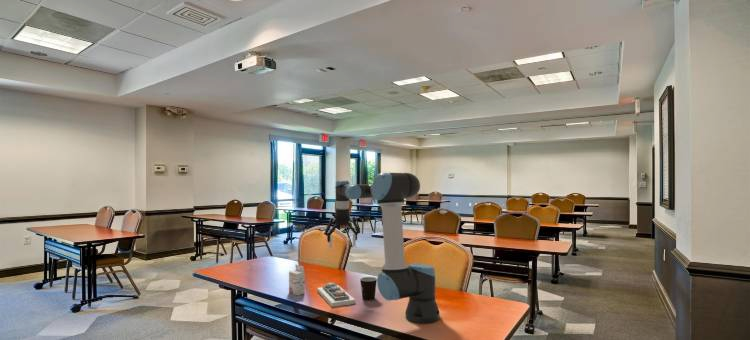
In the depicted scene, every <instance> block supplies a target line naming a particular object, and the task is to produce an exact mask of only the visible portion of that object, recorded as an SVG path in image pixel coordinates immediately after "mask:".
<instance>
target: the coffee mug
mask: <svg viewBox="0 0 750 340" xmlns="http://www.w3.org/2000/svg"><path fill="white" fill-rule="evenodd" d="M377 278H378V277H375V276H373V277H372V276H364V277H361V278H360V279H359V280H360V290H361V297H362V300H363V301H374V300H375V298H376V290H377Z"/></svg>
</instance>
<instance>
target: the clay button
mask: <svg viewBox="0 0 750 340" xmlns="http://www.w3.org/2000/svg"><path fill="white" fill-rule="evenodd" d="M343 290H344V289H343ZM343 290H338V291H335V296H344V295H345V291H346V290H344V291H343Z"/></svg>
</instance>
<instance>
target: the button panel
mask: <svg viewBox="0 0 750 340" xmlns="http://www.w3.org/2000/svg"><path fill="white" fill-rule="evenodd" d="M336 286H338V287H340V290H343V291H345V295H344V296H335V292H331V290H330V288H327V287H326V285H323V286H322V287H317V290H316V292H317V293H318V294H319V295H320V296H321V297H322V298H323V299H324V301H326V302H327V303H328V304H329V306H330V307H331V308H335V307H340V306H342V307H343V306H348V305H355V304H356V299H355V298H354V297H353V296H351V295H350V293H348V292H347V291H346V290H345V289H344V288H342V286H340V285H338V284H336Z"/></svg>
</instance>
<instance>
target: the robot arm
mask: <svg viewBox="0 0 750 340" xmlns="http://www.w3.org/2000/svg"><path fill="white" fill-rule="evenodd" d="M420 182H421V181H420V179H419V178H418V177H417V176H416V175H415V174H413V173H411V172H410V173H409V172H383V173H377V175H376V176H375V177H374V179H373V181H372V183H371V184H370V183H368V184H350V181H349V180H336V181H335V187H334V188H335V217H330V218H329V222H328V224H327V226H326V228H325V230H324V232H323V235H325V236H327V239H326V240H327V242H328V248H329V249H332V248H333V245H332V244H333V243H332V242H333V239H332V238H333V237H332V234H333V233H334V232H335V230H336V229H337V228H338V227H339V226H340V227H341V226H347V227H348V228H349V229H350V231H351V232H352V246H353V247H354V248H355V247H357V246H356V245H357V244H356V242H357V240H358V235H359V234H360V233H361V229H360V228H359V226H358V224H357V222H356V217H355V216H351V217H350V200H358V199H374V200H375V201H377V205H378V206H380V207H381V216H382V218H381V219H382V232H383V233H382V234H383V235H382V237H383V252H384V265H383V266H382V267H381V272H380V273H379V274H378V275H377V277H376V278H377V282H376V286H377V288H378V291H379V293H380V295H381V296H382V297H383V298H384V299H385V300H387V301H399V300H401V299H407V298H408V302H407V305H406V308H405V319H406V320H408V321H410V322H413V323H417V324H432V323H435V322H437V321H439V320H440V310H439V307H438V304H437V301H436V271H435V268H434V267H433V266H431V265H429V264H428V265H427V264H423V263H410V264H409V265H408V264H407V263H406V259H405V247H404V246H405V244H404V243H405V242H404V229H403V228H404V227H403V215H402V212H403V211H402V206H403V205H404V204H405V199H411V198H412V199H413V197H415V196H417V194H418V193H419V192H420V190H421V183H420ZM350 221H351V222H352V224H353V226H354V227H353V226H352V224H351V223H350ZM334 222H335V223H334ZM333 223H334V224H333ZM332 225H333V226H332Z"/></svg>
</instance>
